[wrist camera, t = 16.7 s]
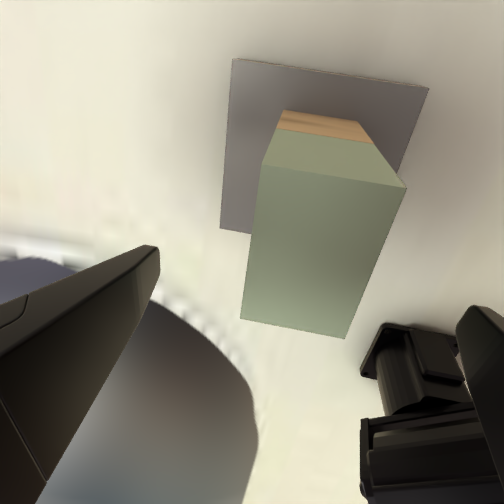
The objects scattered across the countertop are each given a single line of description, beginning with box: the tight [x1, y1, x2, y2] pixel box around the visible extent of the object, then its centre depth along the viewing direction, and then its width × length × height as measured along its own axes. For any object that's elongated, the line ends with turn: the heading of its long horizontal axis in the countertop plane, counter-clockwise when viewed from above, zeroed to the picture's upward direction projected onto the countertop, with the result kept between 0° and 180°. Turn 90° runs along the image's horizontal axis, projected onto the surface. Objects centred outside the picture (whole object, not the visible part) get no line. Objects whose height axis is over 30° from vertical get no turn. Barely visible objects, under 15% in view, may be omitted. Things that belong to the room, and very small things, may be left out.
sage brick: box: [240, 128, 407, 339], centre depth 12 cm, size 6×4×5 cm, turn 173°
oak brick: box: [276, 110, 374, 144], centre depth 17 cm, size 6×4×5 cm, turn 173°
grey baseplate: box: [220, 59, 429, 234], centre depth 19 cm, size 10×10×2 cm
